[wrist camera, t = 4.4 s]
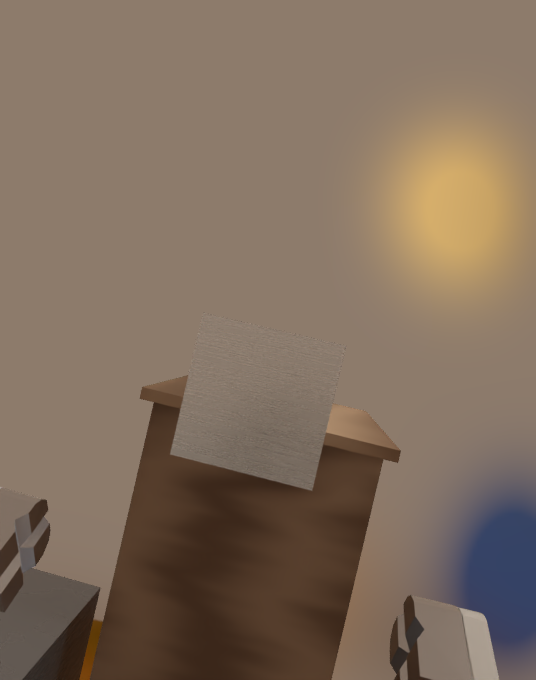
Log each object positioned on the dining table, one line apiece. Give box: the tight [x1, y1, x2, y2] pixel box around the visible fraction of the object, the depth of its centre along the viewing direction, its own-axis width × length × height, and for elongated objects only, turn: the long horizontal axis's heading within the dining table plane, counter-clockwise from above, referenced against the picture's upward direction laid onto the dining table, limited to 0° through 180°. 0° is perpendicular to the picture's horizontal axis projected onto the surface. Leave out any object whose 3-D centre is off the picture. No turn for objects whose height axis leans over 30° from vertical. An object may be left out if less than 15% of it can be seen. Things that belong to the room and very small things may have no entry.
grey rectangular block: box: [170, 313, 346, 491], centre depth 22 cm, size 4×20×4 cm, turn 175°
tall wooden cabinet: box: [90, 375, 401, 680], centre depth 27 cm, size 11×12×26 cm
